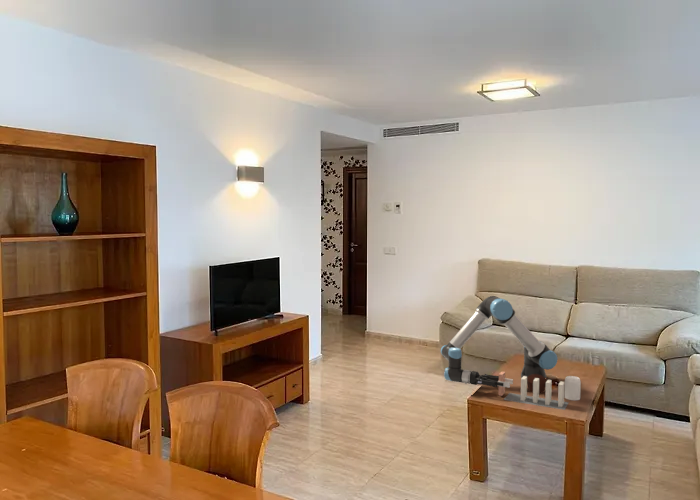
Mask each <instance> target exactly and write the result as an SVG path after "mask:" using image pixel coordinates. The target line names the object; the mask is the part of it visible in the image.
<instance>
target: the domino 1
mask: <svg viewBox="0 0 700 500" xmlns="http://www.w3.org/2000/svg"><path fill="white" fill-rule="evenodd" d="M498 376H499V381H503V382H505V378H506V371H500V372H499V373H498ZM505 393H506V387H502V386H498V396H501V397H503V395H505Z"/></svg>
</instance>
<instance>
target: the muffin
mask: <svg viewBox="0 0 700 500" xmlns="http://www.w3.org/2000/svg"><path fill="white" fill-rule="evenodd" d="M535 378H539V394H544V393H545V392H546V381H547V380H548V379H547V378H546V379H545V377H543V376H542V375H539V374H532V375H529V376H528V377H527V392H528V391H529V393H533V380H534V379H535Z"/></svg>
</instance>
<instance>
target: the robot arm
mask: <svg viewBox="0 0 700 500" xmlns="http://www.w3.org/2000/svg"><path fill="white" fill-rule="evenodd" d="M491 317H493V319H494V320H496V321H497V322H498V323H499V324H500V325H503V326H505V327H506V329H507V330H508V331H509V332H510V333H511V334H512V335H513V336H514V337H515V338H516V339H517V340H518V341H519V343H520V344H521V345H522V346H523V360H524V361H523V368H522V369H521V371H520V379H521V378H522V377H523V376H526V377H528V376H529V375H532V374H539V375H542V376H543V377H545V378H546V379H547V373H546V371H547V370H552V369H554V368H555V366H557V363H558V355H557V353H556V352H555V351H553V350H551V349H550V348H549V346H547V345H546V343H544V342H543V341H539V340H538V339H537V337H536V336H535V335H534V334H533V333H532V332H531V331H530V330H529V328H527V327H526V325H525V324H524V323H523V322H522V321H521V320H520V319H519V318H518V316H517V315H516V311H515V309H514V308H513V306H512V304H511V303H510V302H509V301H508V300H507V299H504V298H501V297H498V296H497V295H495V296H494V295H491V296H490V295H489V296H487V297H486V298H484V299H483V300H482V301H481V302H480V303H479V305H478V306H476V309H475V312H474V313H473V314H472V315H471V317H470V318H468V320H467V321H466V323H464V325H463V326H462V327H461V328H460V329H459V331H457V333H456V334H455V335H454V336H453V337H452V339H450V340H449V342H448V343H447V344H445V345H443V346H441V348H440V355H442V357H443V358H445V360H446V361H448V367H445V368H444V373H443V376H444V377H443V378H444V379H445V380H446V381H450V382H456V383H463V384H465V385H467V384H471V385H474V386H477V385H482V386H487V387H494V388H498V387H499V386H502V387H505V388H511V385H513V384H514V379H513V378H506V377H505V382H503V381H499V375H494V374H493V375H492V374H488V373H487V374H486V373H484V374H479V373H480V372H478V371H474V370H469V369H463V368H462V361H463V360H462V359H463V358H462V356H463V354H462V353H463V352H462V349H461V348H462V347H463V346H465V344H466V343H467V342H468V341H469V340H470V338H472V336H473V335H474V334H475V333H476V332H477V330H478V329H479V328H480V326H481V325H482V324H484V322H485V321H486V320H489V319H490V318H491ZM545 370H546V371H545Z"/></svg>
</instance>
